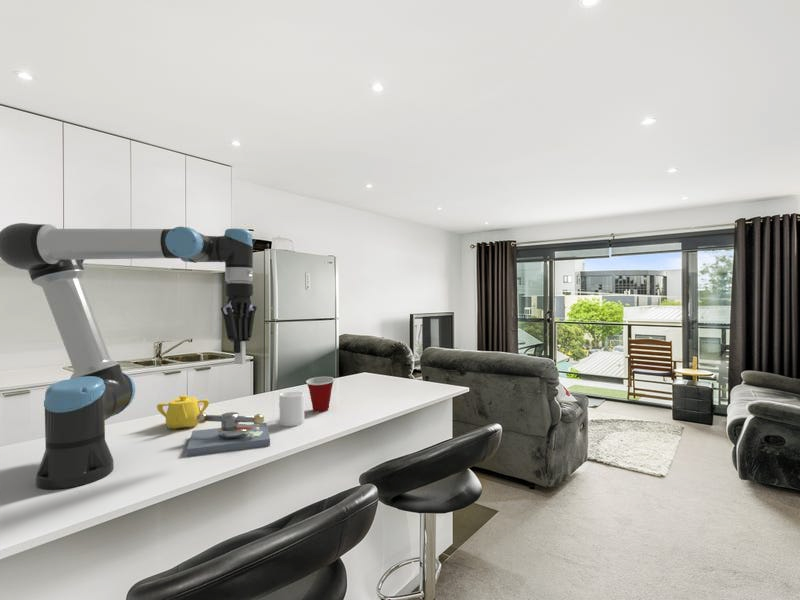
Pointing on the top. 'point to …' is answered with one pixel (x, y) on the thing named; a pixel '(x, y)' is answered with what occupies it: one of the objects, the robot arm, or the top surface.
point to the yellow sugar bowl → (182, 411)
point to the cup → (291, 408)
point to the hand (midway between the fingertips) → (240, 363)
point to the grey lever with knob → (231, 423)
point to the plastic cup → (320, 392)
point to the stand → (226, 440)
